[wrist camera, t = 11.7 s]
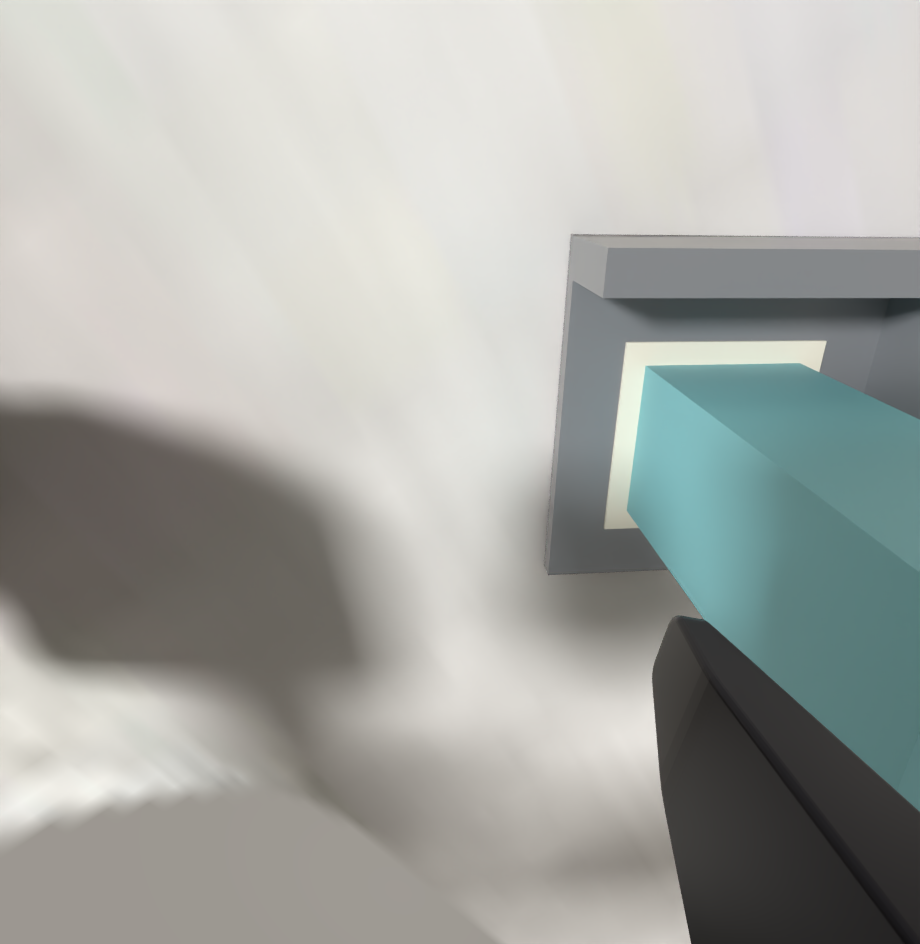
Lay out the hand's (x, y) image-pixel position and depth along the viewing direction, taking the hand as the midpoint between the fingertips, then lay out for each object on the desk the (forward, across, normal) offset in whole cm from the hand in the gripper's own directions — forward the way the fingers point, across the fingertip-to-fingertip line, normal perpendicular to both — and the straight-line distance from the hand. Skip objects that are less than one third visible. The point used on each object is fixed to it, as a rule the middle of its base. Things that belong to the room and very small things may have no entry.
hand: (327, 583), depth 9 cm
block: (+14, -9, +2) cm, 17 cm away
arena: (+14, -9, +2) cm, 17 cm away
